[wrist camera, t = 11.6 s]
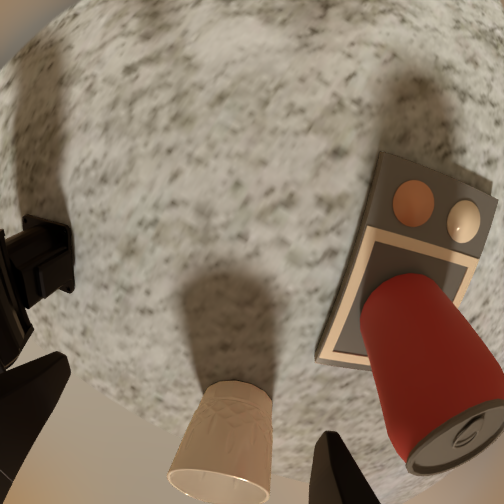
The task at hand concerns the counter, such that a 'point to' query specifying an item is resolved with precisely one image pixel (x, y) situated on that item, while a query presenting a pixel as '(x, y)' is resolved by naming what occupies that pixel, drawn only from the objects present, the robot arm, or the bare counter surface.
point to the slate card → (406, 247)
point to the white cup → (227, 447)
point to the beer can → (431, 375)
